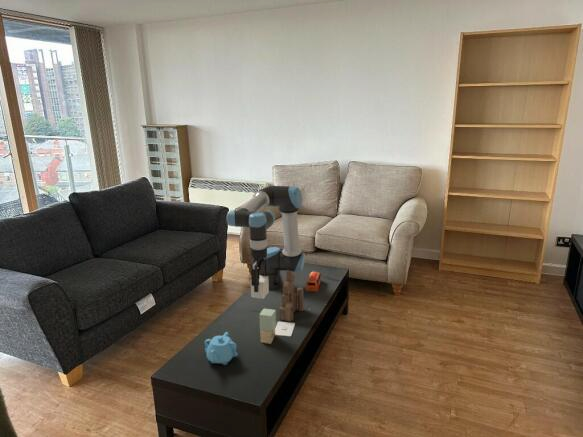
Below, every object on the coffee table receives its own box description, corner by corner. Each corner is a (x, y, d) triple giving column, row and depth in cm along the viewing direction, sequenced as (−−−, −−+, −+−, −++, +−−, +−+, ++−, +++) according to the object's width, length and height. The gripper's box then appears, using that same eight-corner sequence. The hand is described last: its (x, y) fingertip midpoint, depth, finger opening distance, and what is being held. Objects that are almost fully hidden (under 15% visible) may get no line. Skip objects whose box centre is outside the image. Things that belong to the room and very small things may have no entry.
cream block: (256, 290, 192) (256, 274, 189) (268, 291, 190) (268, 276, 188) (251, 297, 185) (250, 281, 183) (263, 298, 184) (263, 282, 181)
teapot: (230, 348, 187) (228, 326, 184) (241, 364, 174) (239, 341, 172) (203, 357, 181) (201, 334, 178) (213, 373, 169) (210, 349, 166)
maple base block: (265, 334, 197) (265, 323, 195) (275, 335, 196) (274, 324, 194) (260, 342, 191) (260, 331, 189) (270, 343, 189) (270, 332, 188)
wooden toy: (290, 322, 207) (289, 277, 200) (279, 319, 210) (278, 275, 203) (304, 309, 220) (304, 266, 213) (293, 306, 223) (293, 264, 216)
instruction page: (277, 322, 208) (277, 321, 208) (295, 323, 206) (295, 322, 206) (272, 334, 196) (272, 333, 196) (291, 336, 195) (290, 335, 195)
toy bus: (305, 292, 240) (305, 281, 238) (310, 280, 257) (310, 269, 254) (317, 293, 238) (317, 282, 236) (321, 280, 255) (321, 270, 253)
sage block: (264, 323, 196) (263, 308, 193) (275, 324, 194) (275, 309, 192) (259, 329, 190) (259, 314, 188) (272, 331, 188) (271, 316, 186)
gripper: (258, 239, 191) (260, 284, 198) (241, 254, 173) (244, 302, 179) (273, 241, 189) (274, 285, 196) (258, 256, 171) (260, 305, 177)
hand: (260, 293), depth 187 cm, fingers closed on cream block, 7 cm apart
